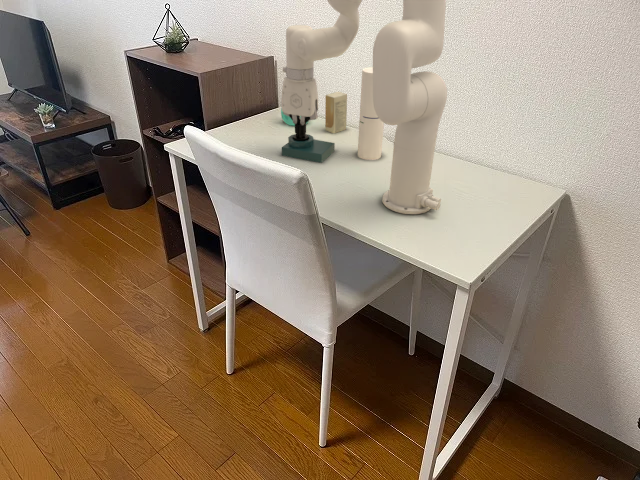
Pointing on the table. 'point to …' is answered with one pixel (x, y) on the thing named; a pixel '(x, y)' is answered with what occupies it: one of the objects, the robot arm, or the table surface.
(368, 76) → the cylindrical container
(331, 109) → the cosmetic box
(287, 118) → the decorative dice
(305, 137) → the button
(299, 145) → the base
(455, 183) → the table surface
